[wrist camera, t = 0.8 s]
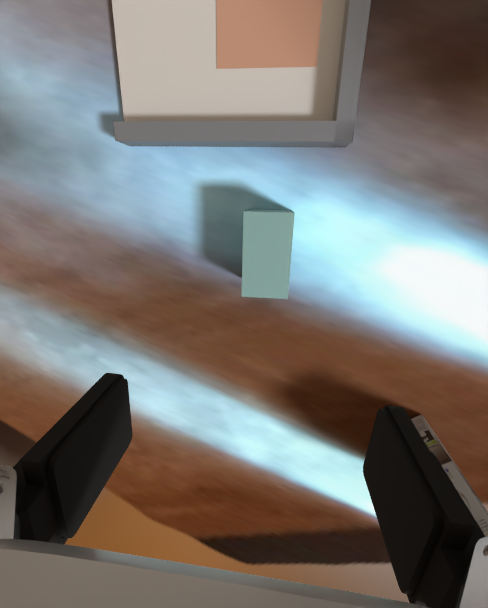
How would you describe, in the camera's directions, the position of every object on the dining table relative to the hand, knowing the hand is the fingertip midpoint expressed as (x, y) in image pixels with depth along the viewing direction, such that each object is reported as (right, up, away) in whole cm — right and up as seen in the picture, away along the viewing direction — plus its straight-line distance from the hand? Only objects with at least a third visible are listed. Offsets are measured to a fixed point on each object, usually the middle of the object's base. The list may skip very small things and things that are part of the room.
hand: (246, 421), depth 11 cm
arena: (-1, +31, +15) cm, 34 cm away
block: (+3, +11, +22) cm, 25 cm away
